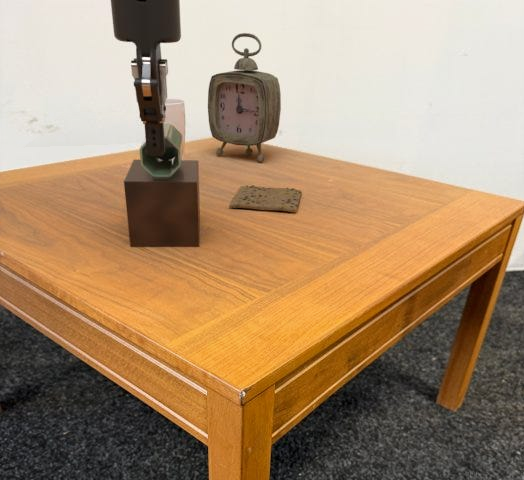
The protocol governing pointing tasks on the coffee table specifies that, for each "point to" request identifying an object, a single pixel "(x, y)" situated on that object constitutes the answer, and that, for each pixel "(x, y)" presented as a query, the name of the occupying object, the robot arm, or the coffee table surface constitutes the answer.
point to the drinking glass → (176, 116)
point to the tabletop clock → (244, 104)
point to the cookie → (267, 198)
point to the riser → (163, 206)
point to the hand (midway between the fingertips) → (156, 154)
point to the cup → (173, 150)
